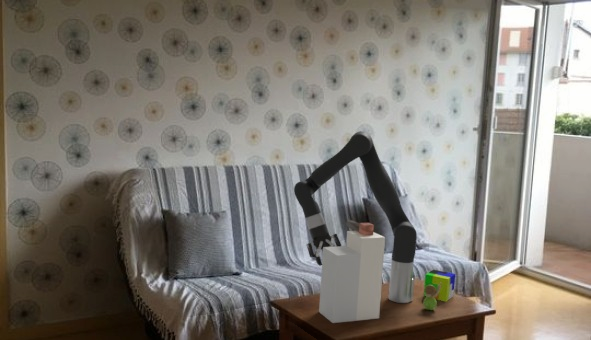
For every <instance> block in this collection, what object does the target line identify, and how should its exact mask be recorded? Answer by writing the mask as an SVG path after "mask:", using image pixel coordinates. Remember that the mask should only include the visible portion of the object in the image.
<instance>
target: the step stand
mask: <svg viewBox="0 0 591 340" xmlns="http://www.w3.org/2000/svg"><path fill="white" fill-rule="evenodd" d="M385 243H386V237H385V236H383V235H381V234H379V233H377V232H374V231H373V235H365V236H364V235H362V234H360V233H359V232H357V231H355V230H347V231H346V245H341V246H337V247H323V249H322V257H321V258H322V259H321V262H322V265H321V276H320V289H319V290H320V291H319V304H318V305H319V306H318V312H319V313H320V314H321V315H322V316H323V317H325V319H327V320H328V321H329V322H331V323H332V324H336V323H347V322H356V321H367V320H375V319H380V311H381V310H380V309H381V308H380V307H381V295H382V284H383V283H382V282H383V271H384V259H385V245H386V244H385Z"/></svg>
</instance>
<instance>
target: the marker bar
mask: <svg viewBox="0 0 591 340" xmlns="http://www.w3.org/2000/svg"><path fill="white" fill-rule="evenodd" d="M345 225H346V228H349V229H351V230H352V231H357V232H359V233H360V234H362V235H364V236H365V235H373V232H374V228H375V225H374V224H372V223H371V222H356V221H355V220H352V219H349V220H346V224H345Z"/></svg>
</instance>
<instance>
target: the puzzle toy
mask: <svg viewBox="0 0 591 340" xmlns="http://www.w3.org/2000/svg"><path fill="white" fill-rule="evenodd" d="M440 282H441V288H440V290H439V293H438V295H437V296H436V297H433V298H435V300H436V299H437V300H438V301H440V300H441V302H447V301H449V300H450V299H452V298H453V297H454V295H455V282H456V273H453V272H448V271H443V270H438V269H432V270H430V271H429V272H427V273H426V274H425V275H424V286H423V287H424V289H423V297H424V296H425V294H427V293H426V292H425V287H426V286H427V285H433V286H434V287H435V288H436V290H437V286H438V285H440ZM426 297H427V296H426ZM426 297H425V298H426ZM437 300H436V301H437Z"/></svg>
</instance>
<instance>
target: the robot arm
mask: <svg viewBox="0 0 591 340" xmlns="http://www.w3.org/2000/svg"><path fill="white" fill-rule="evenodd" d="M358 158H359V160H360V162H361V163H362V165H363V168H364V171H365V176H366V178H367V183H368V186H369V188H370V190H371V192H372V195H373V197H374V198H375V200H376V202H377V204H378V205H379V206H380V208H381V210H382V211H383V212H384V214H385V216H386V217H387V220H388V223H389V225H390V228H391V231H392V233H393V234H392V235H393V244H392V245H393V246H392V247H393V248H392V253H391V261H390V262H391V263H390V276H389V286H388V287H389V288H388V289H389V290H388V300H390V301H391V302H394V303H398V304H408V303H410V302H413V300H414V299H413V298H414V289H415V288H414V287H415V279H414V277H413V274H414V261H415V256H416V248H417V238H418V236H417V235H418V234H417V231H416V229H415V227H414V225H413V224H412V223H411V221H410V219H409V218H408V216H407V214H406V213H405V211H404V210H403V207H402V205H401V201H400V198H399V195H398V192H397V189H396V187H395V185H394V183H393V181H392V178H391V177H390V175H389V173H388V172H387V170H386V168H385V166H384V165H383V163H382V161H381V159H380V158H379V154H378V152H377V149H376V146H375V144H374V141H373V139H372V137H371V135H370V134H369V133H368V132H365V131H362V130H361V131H356V132H355V133H354V134H353V135H352V136H351V137H350V138H349V141H348V142H347V143H346V144H345V145H344V146H343V147H342V148H341V149H340V150H339V151H338V152H337V153H335V154H334V155H333V156H332V157H330V158H329V159H327V160H326V161H324V162H323V163H322V164H320V165H319V166H318V167H316V168H315V169H314V170H313V171H312V172H311V174H310V176H308V178H306V179H305V180H303V181H301V180H300V181H298V182H297V183H295V185H294V187H293V191H294V196H295V198H296V200H297V202H298V204H299V205H300V207H301V209H302V212H303V214H304V218H305V221H306V225H307V228H308V231H309V233H310V237H311V239H312V242H308V243H306V247H307V250H308V251H307V252H308V255H309V257H310V258H314V259H315V261H316V264H317V266H318V265H319V267H322V259H321V257H320V256H319V255H320V253H321V250H322V251H323V247H337V246H342V243H341V241H340V239H339V236H338V233H333V234H331V235H330V231H329V230H328V228H327V227H328V226H327V225H326V221H325V218H324V216H323V214H322V212H321V208H320V206H319V204H318V202H317V201H316V200H315V199H314V197H313V194H315V193H316V192H317V191H318V190H319V189H320V188H321V187H322V186H323V185H324V184H326V183H328V181H329V180H331V179H332V178H334V176H336V175H337V174H338V173H339V172H340V171H341V170H342V169H343V168H345V167H346V166H347V165H348V164H350V163H351V162H353V161H355V160H356V159H358ZM332 240H333V241H334V243H333V242H332ZM314 247H315V250H314V249H313V248H314Z"/></svg>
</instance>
